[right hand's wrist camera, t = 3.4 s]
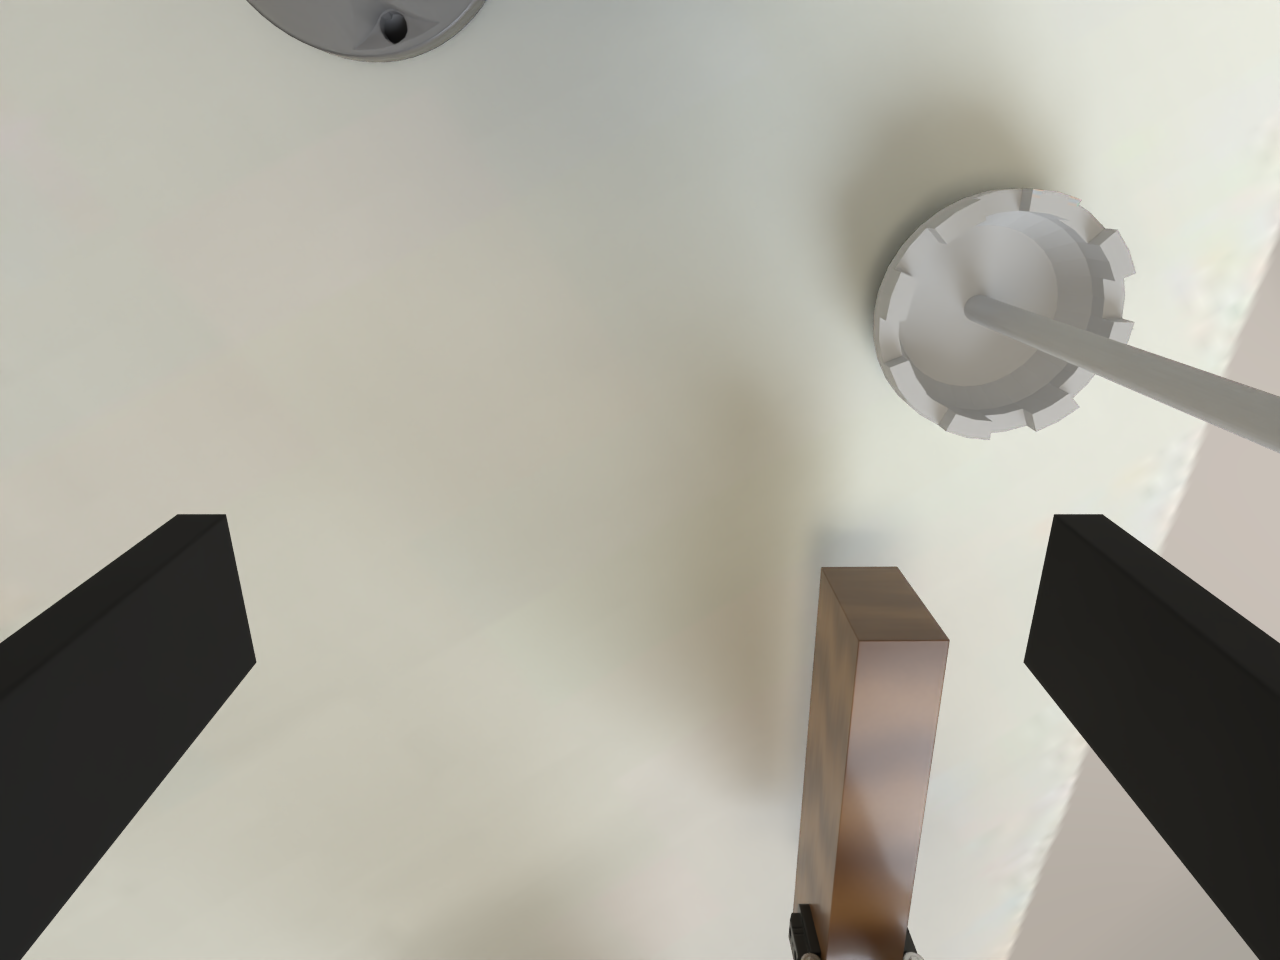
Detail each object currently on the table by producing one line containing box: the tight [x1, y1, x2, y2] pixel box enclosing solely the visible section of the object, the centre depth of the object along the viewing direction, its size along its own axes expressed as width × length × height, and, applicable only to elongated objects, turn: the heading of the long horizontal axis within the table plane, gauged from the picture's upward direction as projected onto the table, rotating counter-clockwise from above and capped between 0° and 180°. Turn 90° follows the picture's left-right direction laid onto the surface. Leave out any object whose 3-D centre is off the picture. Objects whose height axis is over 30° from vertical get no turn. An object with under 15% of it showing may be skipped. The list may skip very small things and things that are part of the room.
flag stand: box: [873, 188, 1280, 453], centre depth 32 cm, size 13×13×30 cm
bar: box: [793, 567, 950, 960], centre depth 47 cm, size 27×4×8 cm, turn 0°
